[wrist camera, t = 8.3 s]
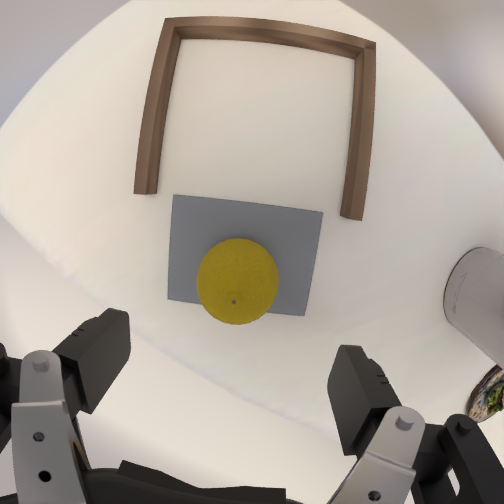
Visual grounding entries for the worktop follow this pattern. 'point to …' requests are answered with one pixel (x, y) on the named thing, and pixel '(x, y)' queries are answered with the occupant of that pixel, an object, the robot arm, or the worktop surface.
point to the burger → (488, 396)
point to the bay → (266, 33)
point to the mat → (246, 227)
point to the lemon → (237, 281)
